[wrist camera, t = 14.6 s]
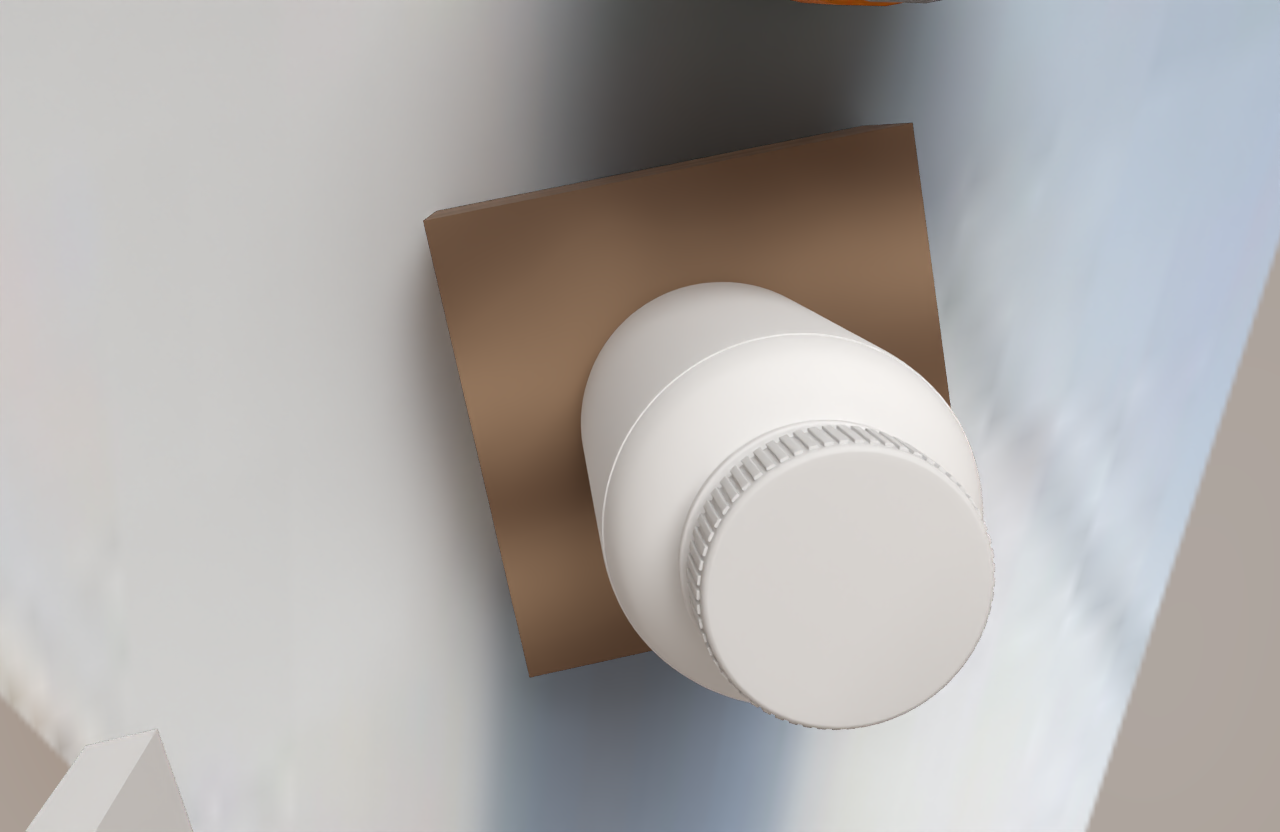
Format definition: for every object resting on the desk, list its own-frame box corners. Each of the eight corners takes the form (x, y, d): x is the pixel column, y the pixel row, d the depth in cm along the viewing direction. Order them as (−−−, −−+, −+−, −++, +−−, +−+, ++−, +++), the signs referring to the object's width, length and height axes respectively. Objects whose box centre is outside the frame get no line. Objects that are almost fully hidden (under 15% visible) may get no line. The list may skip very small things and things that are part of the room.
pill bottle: (842, 264, 34) (1075, 352, 20) (849, 529, 36) (1067, 787, 22) (567, 284, 34) (599, 390, 19) (588, 552, 36) (632, 834, 21)
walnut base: (436, 211, 38) (423, 220, 33) (863, 125, 39) (912, 122, 34) (529, 614, 41) (529, 677, 36) (921, 529, 42) (973, 579, 37)
